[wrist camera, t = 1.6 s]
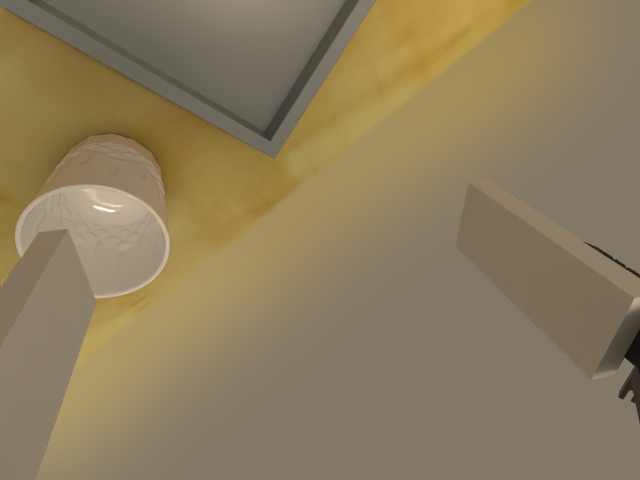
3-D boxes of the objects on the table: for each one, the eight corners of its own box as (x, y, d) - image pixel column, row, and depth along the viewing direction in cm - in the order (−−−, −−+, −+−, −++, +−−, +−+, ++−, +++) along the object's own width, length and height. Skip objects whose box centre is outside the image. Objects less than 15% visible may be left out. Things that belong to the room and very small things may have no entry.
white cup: (119, 103, 28) (100, 157, 20) (190, 185, 33) (196, 253, 25) (29, 163, 29) (-24, 238, 21) (112, 235, 34) (94, 317, 26)
